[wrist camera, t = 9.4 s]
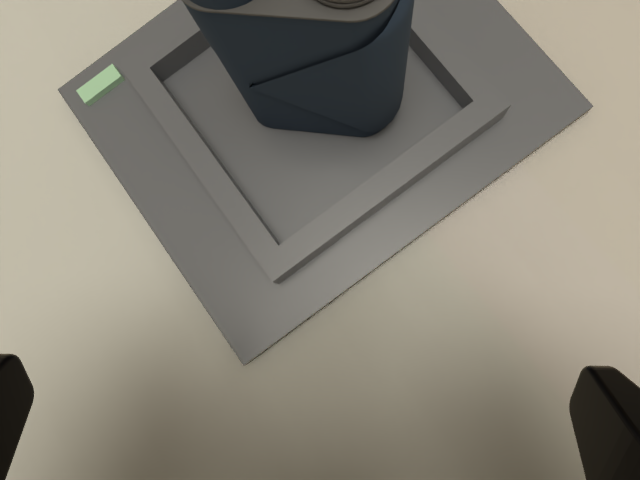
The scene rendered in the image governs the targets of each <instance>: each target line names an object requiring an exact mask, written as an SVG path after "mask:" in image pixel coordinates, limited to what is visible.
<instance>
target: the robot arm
mask: <svg viewBox="0 0 640 480" xmlns="http://www.w3.org/2000/svg"><path fill="white" fill-rule="evenodd" d="M33 398H34V389H33V386H32V383H31V381H30V379H29V377H28V375H27V373H26V371H25V369H24V366H23V364H22V362H21V360H20V359H19V357H17V356H16V355H14V354H0V480H5V479H6V476H7V473H8V471H9V468H10V465H11V462H12V459H13V457H14V454H15V451H16V448H17V445H18V442H19V440H20V437H21V434H22V431H23V428H24V426H25V423H26V420H27V417H28V414H29V412H30V409H31V406H32V403H33ZM569 409H570V416H571V420H572V424H573V428H574V432H575V436H576V440H577V444H578V448H579V452H580V456H581V460H582V464H583V468H584V472H585V476H586V480H640V388H639V387H638V386H637V385H636V384H635V383H633V382H632V381H631V380H630V379H628V378H627V377H626V376H625V375H623V374H622V373H621V372H620V371H618V370H617V369H615V368H613V367H610V366H586V367H585V368H583V369H582V371H581V373H580V376H579V378H578V381H577V383H576V386H575V388H574V391H573V394H572V396H571V399H570V404H569Z"/></svg>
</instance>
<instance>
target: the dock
mask: <svg viewBox="0 0 640 480" xmlns="http://www.w3.org/2000/svg"><path fill="white" fill-rule="evenodd" d="M58 91H59V92H60V94H61V95H62V97H63V98H64V100H65V101H66V103H67V104H68V106H69V107H70V109H71V110H72V112H73V113H74V115H75V116H76V117H77V119H78V120H79V122H80V123H81V125H82V126H83V128H84V129H85V131H86V132H87V134H88V135H89V137H90V138H91V140H92V141H93V143H94V144H95V146H96V147H97V149H98V150H99V152H100V153H101V155H102V156H103V158H104V159H105V161H106V162H107V164H108V165H109V166H110V168H111V169H112V171H113V172H114V174H115V175H116V177H117V178H118V180H119V181H120V183H121V184H122V186H123V187H124V189H125V190H126V192H127V193H128V195H129V196H130V198H131V199H132V201H133V202H134V204H135V205H136V207H137V208H138V210H139V211H140V213H141V214H142V215H143V217H144V218H145V220H146V221H147V223H148V224H149V226H150V227H151V229H152V230H153V232H154V233H155V235H156V236H157V238H158V239H159V241H160V242H161V244H162V245H163V247H164V248H165V250H166V251H167V253H168V254H169V256H170V257H171V259H172V260H173V262H174V263H175V264H176V266H177V267H178V269H179V270H180V272H181V273H182V275H183V276H184V278H185V279H186V281H187V282H188V284H189V285H190V287H191V288H192V290H193V291H194V293H195V294H196V296H197V297H198V299H199V300H200V302H201V303H202V305H203V306H204V308H205V309H206V311H207V312H208V314H209V315H210V316H211V318H212V319H213V321H214V322H215V324H216V325H217V327H218V328H219V330H220V331H221V333H222V334H223V336H224V337H225V339H226V340H227V342H228V343H229V345H230V346H231V348H232V349H233V351H234V352H235V354H236V355H237V357H238V358H239V360H240V361H241V363H242V364H243V365H246V364H248V363H249V362H251V361H252V360H253V359H255V358H256V357H257V356H259V355H260V354H261V353H263V352H264V351H265V350H267V349H268V348H269V347H271V346H272V345H274V344H275V343H276V342H278V341H279V340H280V339H282V338H283V337H284V336H286V335H287V334H288V333H290V332H291V331H292V330H294V329H295V328H296V327H298V326H299V325H300V324H302V323H303V322H305V321H306V320H307V319H309V318H310V317H311V316H313V315H314V314H315V313H317V312H318V311H319V310H321V309H322V308H323V307H325V306H326V305H327V304H329V303H330V302H331V301H333V300H334V299H336V298H337V297H338V296H340V295H341V294H342V293H344V292H345V291H346V290H348V289H349V288H350V287H352V286H353V285H354V284H356V283H357V282H358V281H360V280H361V279H363V278H364V277H365V276H367V275H368V274H369V273H371V272H372V271H373V270H375V269H376V268H377V267H379V266H380V265H381V264H383V263H384V262H385V261H387V260H388V259H389V258H391V257H392V256H394V255H395V254H396V253H398V252H399V251H400V250H402V249H403V248H404V247H406V246H407V245H408V244H410V243H411V242H412V241H414V240H415V239H416V238H418V237H419V236H421V235H422V234H423V233H425V232H426V231H427V230H429V229H430V228H431V227H433V226H434V225H435V224H437V223H438V222H439V221H441V220H442V219H443V218H445V217H446V216H447V215H449V214H450V213H452V212H453V211H454V210H456V209H457V208H458V207H460V206H461V205H462V204H464V203H465V202H466V201H468V200H469V199H470V198H472V197H473V196H474V195H476V194H477V193H479V192H480V191H481V190H483V189H484V188H485V187H487V186H488V185H489V184H491V183H492V182H493V181H495V180H496V179H497V178H499V177H500V176H501V175H503V174H504V173H505V172H507V171H508V170H510V169H511V168H512V167H514V166H515V165H516V164H518V163H519V162H520V161H522V160H523V159H524V158H526V157H527V156H528V155H530V154H531V153H532V152H534V151H535V150H537V149H538V148H539V147H541V146H542V145H543V144H545V143H546V142H547V141H549V140H550V139H551V138H553V137H554V136H555V135H557V134H558V133H559V132H561V131H562V130H563V129H565V128H566V127H568V126H569V125H570V124H572V123H573V122H574V121H576V120H577V119H578V118H580V117H581V116H582V115H584V114H585V113H586V112H588V111H589V110H590V109H591V108H592V107H593V105H592V104H591V103H590V102H589V101H588V100H587V99H586V98H585V97H584V95H583V94H582V93H581V92H580V91H579V90H578V89H577V88H576V87H575V86H574V84H573V83H572V82H571V81H570V80H569V79H568V78H567V77H566V76H565V75H564V73H563V72H562V71H561V70H560V69H559V68H558V67H557V66H556V65H555V64H554V62H553V61H552V60H551V59H550V58H549V57H548V56H547V55H546V54H545V52H544V51H543V50H542V49H541V48H540V47H539V46H538V45H537V44H536V43H535V41H534V40H533V39H532V38H531V37H530V36H529V35H528V34H527V33H526V32H525V30H524V29H523V28H522V27H521V26H520V25H519V24H518V23H517V22H516V21H515V19H514V18H513V17H512V16H511V15H510V14H509V13H508V12H507V11H506V10H505V8H504V7H503V6H502V5H501V4H500V3H499V2H498V1H497V0H414V8H413V16H412V24H411V33H410V41H409V49H408V57H407V65H406V74H405V82H404V90H403V98H402V101H401V105H400V109H399V110H398V112H397V114H396V115H395V117H394V119H393V120H392V121H391V122H390V123H389V124H388V125H387V126H386V127H385V128H384V129H382V130H381V131H379V132H378V133H376V134H374V135H372V136H368V137H355V136H345V135H335V134H325V133H314V132H304V131H294V130H284V129H274V128H268V127H266V126H264V125H262V124H261V123H259V122H258V121H257V119H256V117H255V116H254V114H253V113H252V111H251V109H250V108H249V106H248V104H247V103H246V101H245V100H244V98H243V96H242V95H241V93H240V92H239V90H238V88H237V87H236V85H235V83H234V82H233V80H232V79H231V77H230V75H229V74H228V72H227V70H226V69H225V67H224V66H223V64H222V62H221V61H220V59H219V58H218V56H217V54H216V53H215V51H214V50H213V49H212V48H211V46H210V44H209V43H208V41H207V40H206V38H205V37H204V35H203V33H202V32H201V30H200V29H199V27H198V25H197V24H196V22H195V21H194V19H193V17H192V16H191V14H190V13H189V11H188V9H187V8H186V6H185V4H184V3H183V1H182V0H177V1H176V2H175V3H173V4H172V5H171V6H169V7H168V8H167V9H165V10H164V11H163V12H161V13H160V14H159V15H157V16H156V17H154V18H153V19H152V20H150V21H149V22H148V23H146V24H145V25H144V26H142V27H141V28H140V29H138V30H137V31H136V32H134V33H133V34H132V35H130V36H129V37H128V38H126V39H125V40H124V41H122V42H121V43H120V44H118V45H117V46H116V47H114V48H113V49H111V50H110V51H109V52H107V53H106V54H105V55H103V56H102V57H101V58H99V59H98V60H97V61H95V62H94V63H93V64H91V65H90V66H89V67H87V68H86V69H85V70H83V71H82V72H81V73H79V74H78V75H77V76H75V77H74V78H73V79H71V80H70V81H69V82H67V83H66V84H64V85H63V86H62V87H60V88H59V89H58Z"/></svg>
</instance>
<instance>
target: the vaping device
mask: <svg viewBox="0 0 640 480" xmlns="http://www.w3.org/2000/svg"><path fill="white" fill-rule="evenodd" d="M182 1H183V3H184V4H185V6H186V8H187V9H188V11H189V13H190V14H191V16H192V17H193V19H194V21H195V22H196V24H197V25H198V27H199V29H200V30H201V32H202V33H203V35H204V37H205V38H206V40H207V41H208V43H209V44H210V46H211V48H212V49H213V50H214V51H215V53H216V54H217V56H218V58H219V59H220V61H221V62H222V64H223V66H224V67H225V69H226V70H227V72H228V74H229V75H230V77H231V79H232V80H233V82H234V83H235V85H236V87H237V88H238V90H239V92H240V93H241V95H242V96H243V98H244V100H245V101H246V103H247V104H248V106H249V108H250V109H251V111H252V113H253V114H254V116H255V117H256V119H257V121H258V122H259V123H261V124H262V125H264V126H266V127H268V128H274V129H284V130H294V131H304V132H314V133H325V134H335V135H345V136H355V137H368V136H372V135H374V134H376V133H378V132H379V131H381V130H382V129H384V128H385V127H386V126H387V125H388V124H389V123H390V122H391V121H392V120H393V119H394V117H395V115H396V114H397V112H398V110H399V109H400V105H401V101H402V98H403V90H404V82H405V74H406V65H407V57H408V49H409V41H410V33H411V24H412V16H413V8H414V0H182Z"/></svg>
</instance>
